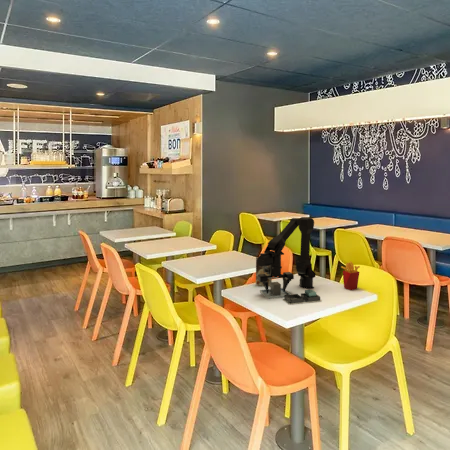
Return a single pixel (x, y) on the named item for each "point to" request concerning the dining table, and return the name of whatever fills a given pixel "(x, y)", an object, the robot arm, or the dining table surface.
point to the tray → (270, 296)
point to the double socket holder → (302, 298)
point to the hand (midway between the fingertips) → (275, 292)
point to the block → (275, 288)
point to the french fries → (350, 276)
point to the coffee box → (260, 271)
